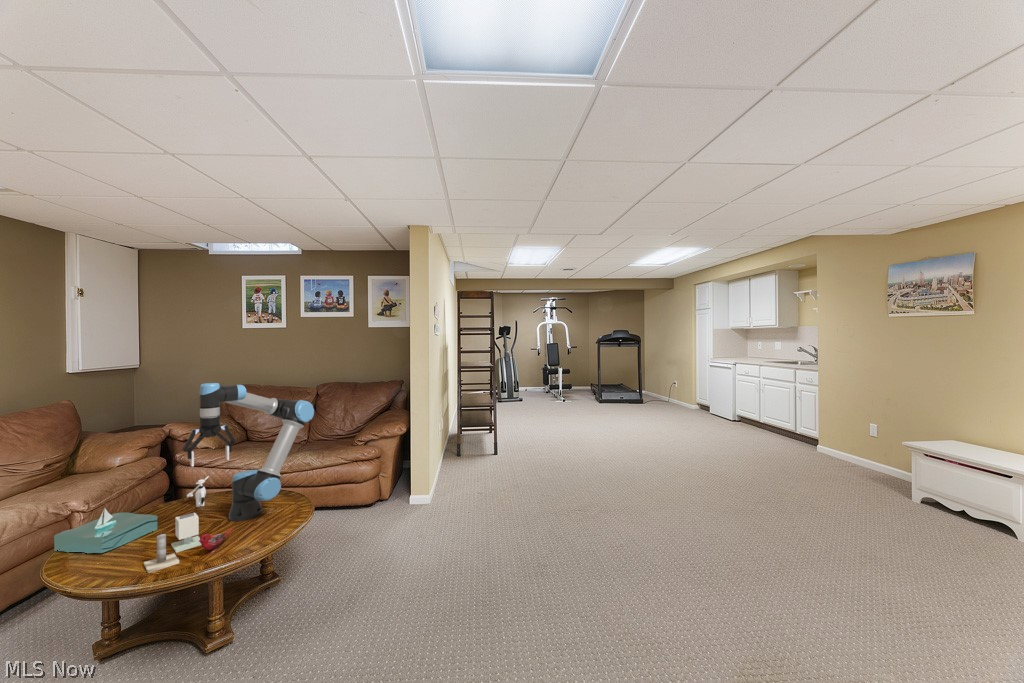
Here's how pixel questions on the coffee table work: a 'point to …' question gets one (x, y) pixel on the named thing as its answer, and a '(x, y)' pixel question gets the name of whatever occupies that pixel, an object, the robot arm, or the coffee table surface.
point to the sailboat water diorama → (105, 533)
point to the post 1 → (161, 557)
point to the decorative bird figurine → (212, 540)
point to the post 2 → (186, 544)
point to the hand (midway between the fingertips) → (210, 462)
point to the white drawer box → (187, 525)
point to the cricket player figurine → (199, 493)
